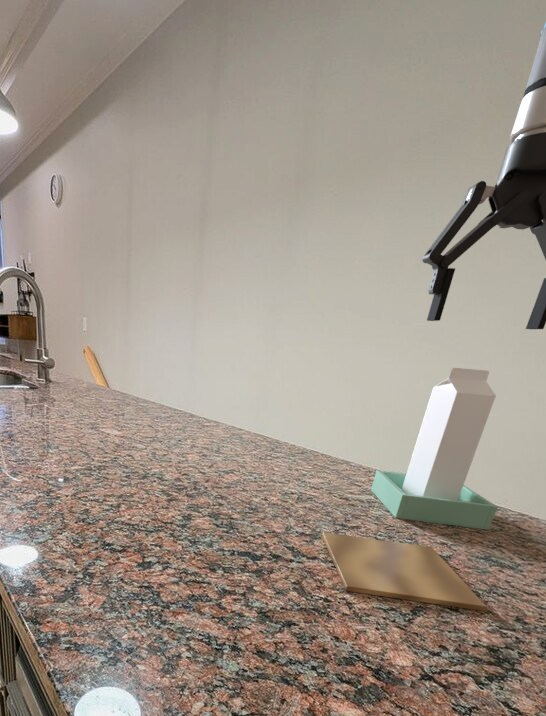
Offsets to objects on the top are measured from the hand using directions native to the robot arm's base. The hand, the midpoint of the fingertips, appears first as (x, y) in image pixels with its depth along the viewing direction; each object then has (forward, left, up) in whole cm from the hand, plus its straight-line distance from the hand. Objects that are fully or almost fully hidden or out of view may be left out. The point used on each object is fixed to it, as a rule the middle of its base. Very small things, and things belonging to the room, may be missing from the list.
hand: (483, 325), depth 64 cm
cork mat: (+12, +25, -28) cm, 39 cm away
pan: (-1, 0, -28) cm, 28 cm away
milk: (-1, 0, -28) cm, 28 cm away
